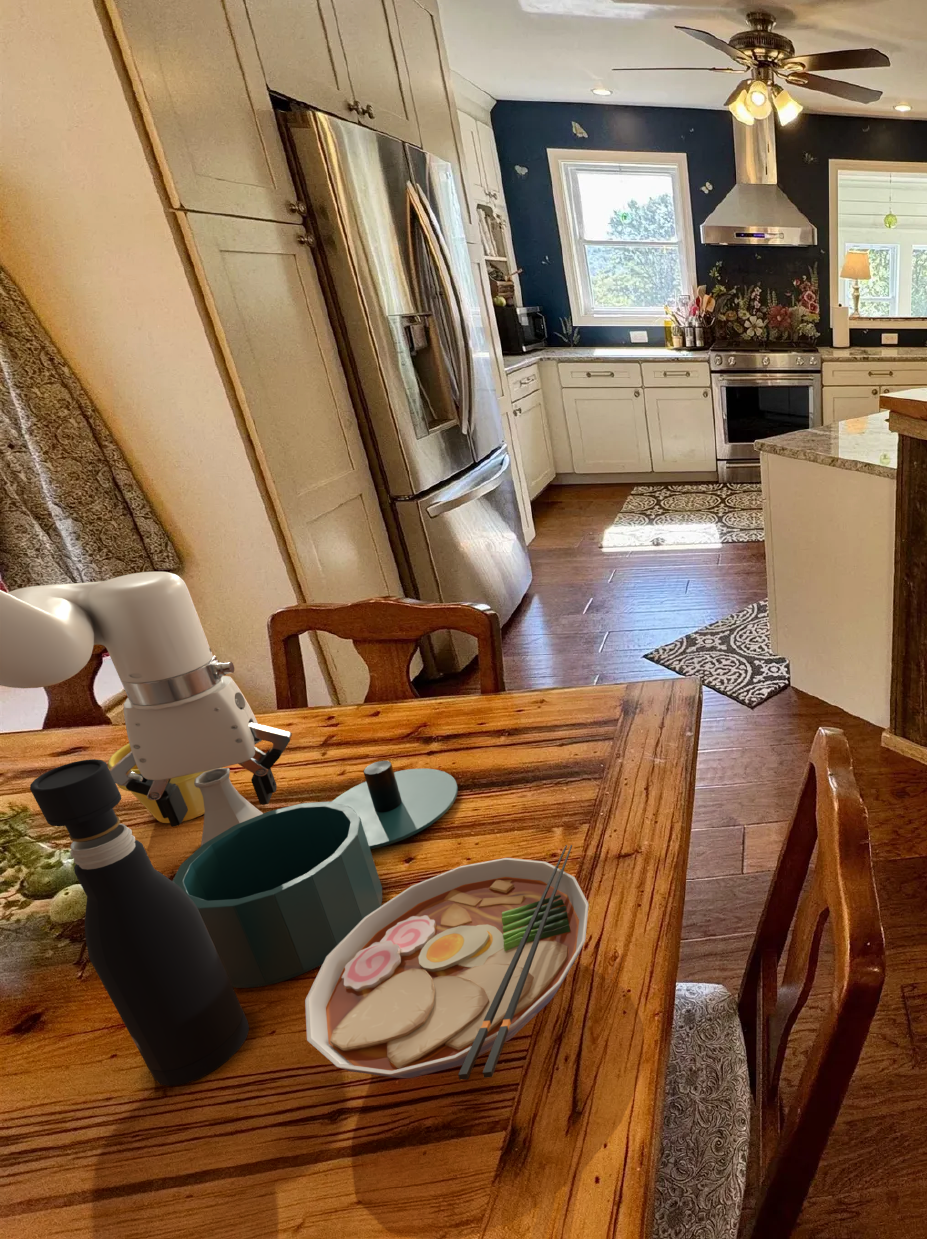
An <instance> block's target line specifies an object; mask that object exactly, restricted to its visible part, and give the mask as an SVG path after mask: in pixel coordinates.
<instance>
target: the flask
mask: <svg viewBox="0 0 927 1239" xmlns="http://www.w3.org/2000/svg"><path fill="white" fill-rule="evenodd" d="M230 774H231V769H230V768H229V767H223V768H217V769H214V770H210V771H207V772H204V773H202V774H201V775H200V776H198V777H197V778H195V782H194V785H195V787H197V788H199V789H200V790H201V793H202V796H203V801H204V809H205V813H204V814H203V824H202V825H203V826H202V833H201V834H202V835H201V843H200V847H201V846H202V845H203V844H204V843H206V842H208V841H209V840H211V839H213V838H214V837H216V836H218V835H219V834H221V833H223V832H224V831H226V830H228V829H229V828H231V827H233V826H234V825H237V824H239V823H242V822H244V821H246V820H249V819H251V818H254V817H256V816H259V815H261V814H264V812H262V811H261V810H260V809H258V808H257V807H256V806H254V805H253V804H252V803H251V802H250V801H248V800H247V799H246V798H245V797H244V796H243V795H242V794H240V792H239V791H238V790H237V789H236V787H235V786H234V784H233V783H232V781H231V779H230Z"/></svg>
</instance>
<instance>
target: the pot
mask: <svg viewBox="0 0 927 1239" xmlns="http://www.w3.org/2000/svg"><path fill="white" fill-rule="evenodd" d="M172 881H173V882H174V883H175V884H177V885H178V886H179V887H180V888H181V889H182V890H183V891H184V892H185V893H186V894H187V895H188V896H189V897H190V899H191V900H192V901H193V902H194V903H195V905H196V906H197V908H198V910H199V913H200V915H201V917H202V919H203V922H204V924H205V926H206V928H207V931H208V933H209V935H210V937H211V940H212V942H213V944H214V946H215V949H216V951H217V953H218V955H219V958H220V960H221V962H222V964H223V967H224V969H225V971H226V973H227V976H228V978H229V980H230V982H231V985H232V987H233V988H237V989H253V988H262V987H265V986H270V985H275V984H278V983H279V984H280V983H282V982H285V981H288V980H291V979H293V978H296V977H299V976H301V975H304V974H306V973H308V972H310V971H312V970H314V969H316V968H318V967H320V966H322V964H323V962H324V960H325V958H326V956H327V955H328V954H329V953H330V952H331V951H332V950H333V949H334V948H335V947H336V946H337V945H338V944H339V943H340V942H341V941H342V940H343V939H344V938H345V937H346V936H347V935H348V934H349V933H350V932H351V931H352V930H353V929H354V928H355V927H356V926H357V925H358V924H359V922H360V921H361V920H362V919H363V918H364V917H366V916H367V915H369V914H370V913H372V912H373V911H375V910H376V909H378V908H379V907H381V906H382V902H383V886H382V883H381V879H380V877H379V873H378V870H377V866H376V863H375V860H374V858H373V854H372V851H371V849H370V847H369V844H368V841H367V838H366V835H365V832H364V828H363V825H362V822H361V819H360V817H359V816H358V815H357V814H356V812H355V811H354V810H353V809H352V807H349V806H346V805H342V804H338V803H334V802H332V801H314V802H302V803H301V802H300V803H298V804H293V805H289V806H286V807H285V806H284V807H280V808H277V809H273V810H269V811H266V812H263V814H261V815H259V816H256V817H254V818H251V819H249V820H246V821H244V822H242V823H239V824H237V825H234V826H233V827H231V828H229V829H228V830H226V831H224V832H223V833H221V834H219V835H218V836H216V837H214V838H213V839H211V840H209V841H208V842H206V843H204V844H203V845H202V846H201V845H200V846H199V848H197V849H196V850H195V851H194V852H192V854H191V855H190V856H188V857H187V858H186V859H185V860H184V861H183V862H182V863H181V864H180V865H179V867H178V869H177V871H176V873H175V875H174V877H173V878H172Z"/></svg>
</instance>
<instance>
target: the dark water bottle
mask: <svg viewBox="0 0 927 1239" xmlns="http://www.w3.org/2000/svg"><path fill="white" fill-rule="evenodd" d="M29 790H30V792H31V794H32V796H33V798H34V799H35V801H36V804H37V805H38V807H39V809H40V812H41V813H42V815H43V817H44V818H45V821H46V822H47V824H48V825H49V826H51V827H65V828H66V830H67V832H68V834H69V835H68V836H69V840H70V841H71V844H70V850H69V855H70V856H71V857H72V858H73V863H74V864H75V865H74V867H73V868H74V869H73V872H74V874H75V877H76V878H77V881H78V882H79V884H80V886H81V888H82V891H83V892H84V893H85V896H86V902H85V903H86V904H85V914H84V915H85V916H84V932H85V933H84V935H85V944H86V950H87V953H88V959H89V962H90V963H91V964H92V967H93V968H94V970H95V972H96V974H97V976H98V978H99V980H100V982H101V983H102V985H103V987H104V989H105V990H106V993H107V995H108V996H109V998H110V1001H111V1002H112V1003H113V1006H114V1007H115V1009H116V1011H117V1013H118V1015H119V1016H120V1018H121V1020H122V1023H123V1024H124V1026H125V1028H126V1029H127V1031H128V1033H129V1035H130V1037H131V1039H132V1041H133V1043H134V1045H135V1046H136V1048H137V1050H138V1052H139V1053H140V1055H141V1057H142V1059H143V1061H144V1063H145V1064H146V1066H147V1069H148V1071H149V1072H150V1074H151V1076H152V1078H153V1079H154V1081H155V1082H157V1083H158V1084H159V1085H161V1086H168V1087H174V1086H180V1085H185V1084H189V1083H191V1082H193V1081H196V1080H199V1079H201V1078H203V1077H205V1076H206V1075H209V1074H210V1073H212V1072H214V1071H215V1070H217V1069H218V1068H219V1067H221V1066H223V1065H224V1064H225V1063H226V1062H228V1061H229V1060H230V1059H231V1058H232V1057H233V1056H234V1055H235V1054H236V1053H237V1052H238V1051H239V1050H240V1049H241V1048H242V1046H243V1044H244V1042H245V1041H246V1040H247V1038H248V1035H249V1032H250V1025H249V1020H248V1019H247V1017H246V1014H245V1012H244V1010H243V1008H242V1004H241V1003H240V1001H239V998H238V996H237V994H236V992H235V989H234V987H232V985H231V982H230V980H229V978H228V976H227V973H226V971H225V969H224V967H223V964H222V962H221V960H220V958H219V955H218V953H217V951H216V949H215V946H214V944H213V942H212V940H211V937H210V935H209V933H208V931H207V928H206V926H205V924H204V922H203V919H202V917H201V915H200V913H199V910H198V908H197V906H196V905H195V903H194V902H193V901H192V900H191V899H190V897H189V896H188V895H187V894H186V893H185V892H184V891H183V890H182V889H181V888H180V887H179V886H178V885H177V884H175V883H174V882H173V880H171V879H170V878H169V877H167V876H166V875H165V874H163V873H162V872H160V871H159V870H157V869H155V867H154V865H153V863H152V862H151V860H150V859H151V858H150V857H149V855H148V853H147V851H146V849H145V847H144V845H143V843H142V842H141V841H139V840H138V839H136V837H135V835H133V830H132V828H129V827H127V825H125V824H124V823H121V819H120V818H119V817H118V816H117V815H116V812H115V810H114V808H115V807H116V806H117V805H118V804H119V803H120V802H121V801H122V794H121V792H120V791H119V787H118V785H117V784H116V783H115V781H114V779H113V777H112V775H111V772H110V770H109V767H108V763H107V762H106V761H104V760H103V759H95V758H91V759H84V760H83V759H82V760H76V761H73V762H69V763H66V764H62V765H60V766H57V767H54V768H52V769H50V770H48V771H46V772H44V773H42V774H40V775H38V777H36V778H35V779H34V780H33V781H32V782H31V783H30V785H29Z"/></svg>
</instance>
